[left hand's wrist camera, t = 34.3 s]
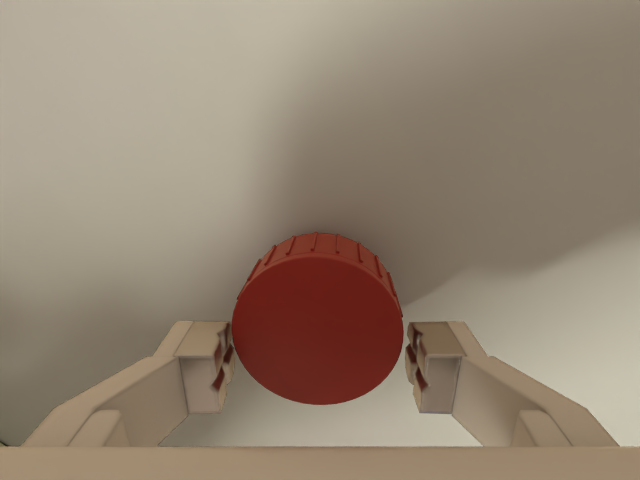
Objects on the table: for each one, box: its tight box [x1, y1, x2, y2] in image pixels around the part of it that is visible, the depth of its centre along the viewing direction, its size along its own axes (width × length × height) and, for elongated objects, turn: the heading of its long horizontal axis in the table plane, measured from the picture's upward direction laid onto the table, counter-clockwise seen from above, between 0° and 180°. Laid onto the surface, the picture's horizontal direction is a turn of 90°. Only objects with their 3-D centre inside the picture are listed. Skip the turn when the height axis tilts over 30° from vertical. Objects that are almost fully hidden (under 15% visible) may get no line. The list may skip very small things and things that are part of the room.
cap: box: [232, 232, 403, 405], centre depth 10 cm, size 5×5×2 cm
